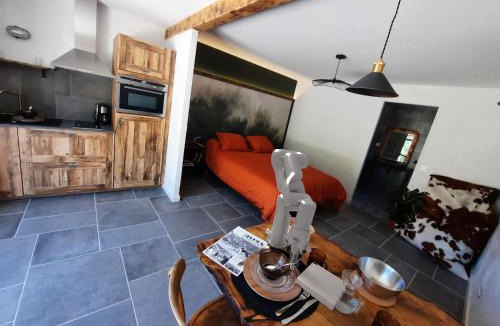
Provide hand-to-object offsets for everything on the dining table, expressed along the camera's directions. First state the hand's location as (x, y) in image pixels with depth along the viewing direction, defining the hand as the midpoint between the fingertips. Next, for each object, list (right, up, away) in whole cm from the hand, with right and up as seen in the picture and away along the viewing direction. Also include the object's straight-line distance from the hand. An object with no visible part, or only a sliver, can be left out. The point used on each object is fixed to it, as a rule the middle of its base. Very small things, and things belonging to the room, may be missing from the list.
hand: (293, 255), depth 110 cm
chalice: (-1, -7, +2) cm, 8 cm away
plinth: (+12, -12, -6) cm, 18 cm away
